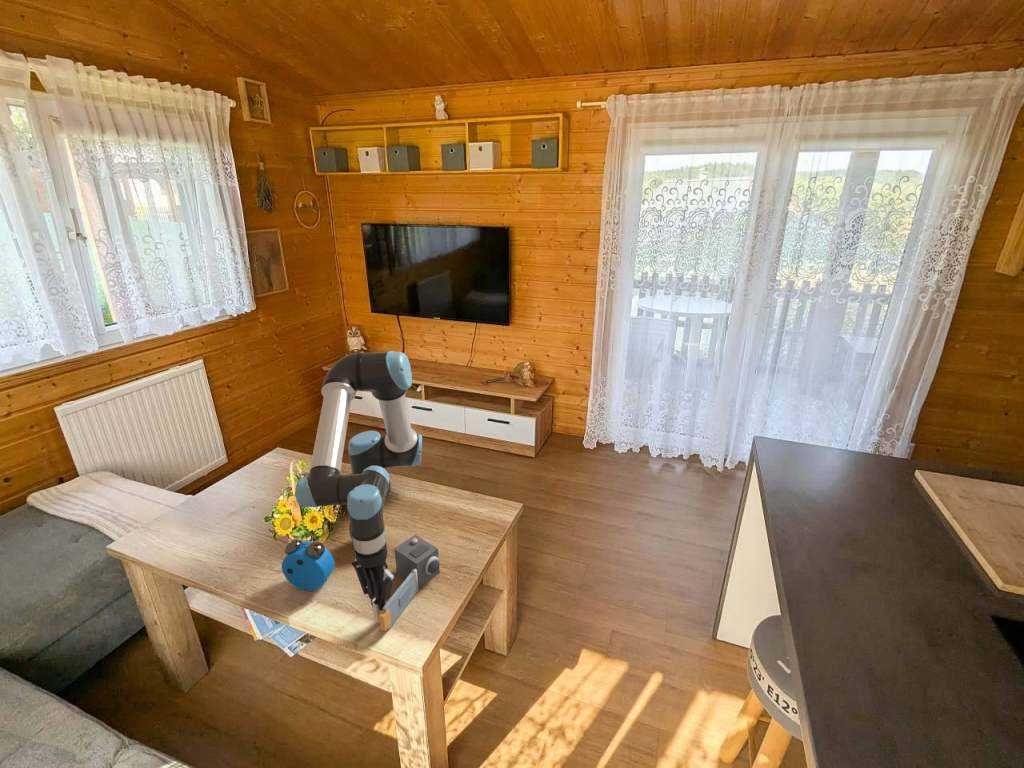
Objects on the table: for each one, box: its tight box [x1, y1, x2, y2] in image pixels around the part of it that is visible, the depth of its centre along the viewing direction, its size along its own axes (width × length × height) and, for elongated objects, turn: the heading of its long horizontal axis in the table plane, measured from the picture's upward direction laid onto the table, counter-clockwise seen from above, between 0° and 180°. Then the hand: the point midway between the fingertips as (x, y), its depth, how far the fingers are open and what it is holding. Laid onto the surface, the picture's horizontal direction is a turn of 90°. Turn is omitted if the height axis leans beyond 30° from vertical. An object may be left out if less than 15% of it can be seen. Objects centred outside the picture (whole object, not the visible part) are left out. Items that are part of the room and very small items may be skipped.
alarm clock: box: [281, 538, 335, 592], centre depth 136 cm, size 13×6×15 cm, turn 80°
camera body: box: [393, 534, 441, 589], centre depth 140 cm, size 11×8×10 cm
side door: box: [379, 568, 420, 632], centre depth 128 cm, size 16×2×7 cm, turn 159°
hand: (380, 616), depth 126 cm, fingers closed
